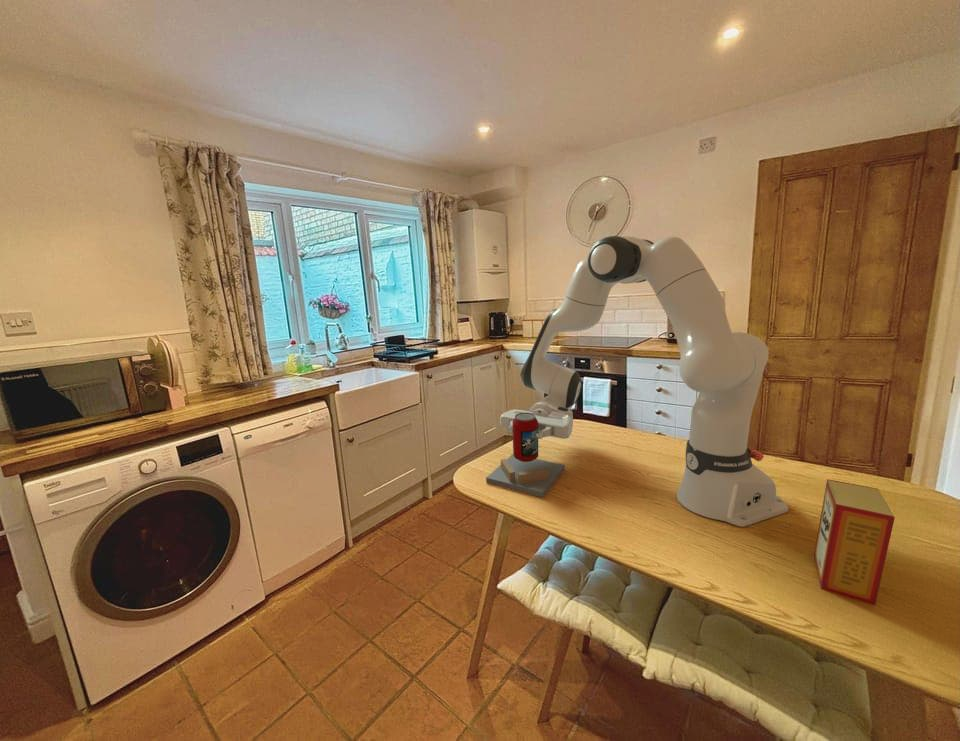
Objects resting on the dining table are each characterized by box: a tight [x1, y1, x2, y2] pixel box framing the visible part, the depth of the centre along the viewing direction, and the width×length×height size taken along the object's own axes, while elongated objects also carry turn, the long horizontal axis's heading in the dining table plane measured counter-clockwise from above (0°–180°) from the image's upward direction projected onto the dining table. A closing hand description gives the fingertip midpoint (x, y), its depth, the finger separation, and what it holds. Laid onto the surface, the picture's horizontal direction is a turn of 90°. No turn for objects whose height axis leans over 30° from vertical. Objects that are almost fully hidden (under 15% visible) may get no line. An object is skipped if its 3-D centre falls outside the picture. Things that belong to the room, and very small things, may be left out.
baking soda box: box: [813, 478, 896, 606], centre depth 66 cm, size 10×6×16 cm
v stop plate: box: [485, 453, 566, 499], centre depth 106 cm, size 16×16×4 cm
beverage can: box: [512, 413, 539, 462], centre depth 104 cm, size 7×7×12 cm
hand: (523, 433), depth 103 cm, fingers closed on beverage can, 7 cm apart
